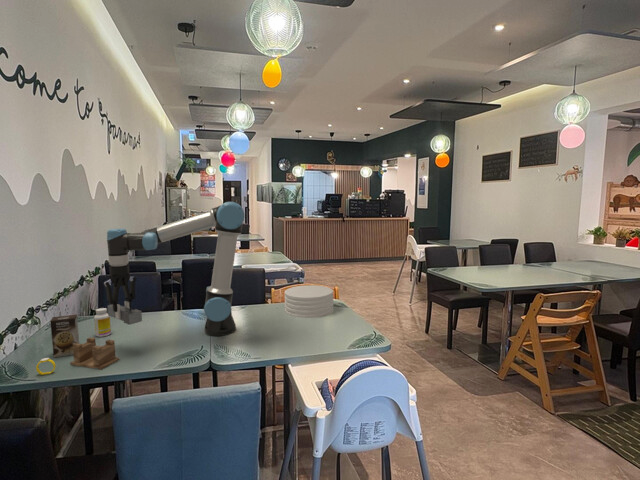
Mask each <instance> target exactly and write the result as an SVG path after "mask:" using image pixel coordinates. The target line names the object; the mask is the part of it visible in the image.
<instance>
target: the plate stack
mask: <svg viewBox="0 0 640 480" xmlns="http://www.w3.org/2000/svg"><path fill="white" fill-rule="evenodd" d="M333 298H334V290H333V288H330V287H328V286H325V285H324V286H322V285H314V284H311V285H309V284H308V285H297V286H292V287H289V288H287V289H284V313H285V314H286V315H288V316H291V317H295V318H303V319H306V318H307V319H309V318H311V319H312V318H319V317H320V318H321V317H325V316H328V315H330V314H332V313H333V312H334V299H333Z"/></svg>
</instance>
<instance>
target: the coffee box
mask: <svg viewBox="0 0 640 480" xmlns="http://www.w3.org/2000/svg"><path fill="white" fill-rule="evenodd" d="M49 324H50V332H51V342H52V355H53V358H60V357H65V356H74V354H73V344H75V343H79V344H80V336H79V335H80V334H79V321H78V314H71V315H61V316H53V317H52V318H51V319H50V323H49Z"/></svg>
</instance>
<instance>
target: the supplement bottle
mask: <svg viewBox="0 0 640 480" xmlns="http://www.w3.org/2000/svg"><path fill="white" fill-rule="evenodd" d="M95 313H96V314H95V315H94V317H93V321H94V331H95V336H96V337H101V338H103V337H107V336H109V335H111V334H112V326H111V316H109V315H108V307H107V308H106V307H105V308H104V307H100V308H97V309H95Z"/></svg>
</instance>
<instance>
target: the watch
mask: <svg viewBox="0 0 640 480" xmlns="http://www.w3.org/2000/svg"><path fill="white" fill-rule="evenodd" d="M46 362H49V363H51V364H52V366H53V368H52V369H51V371H46V372H43V371H41V370H40V367H39V365H40V364H41V363H46ZM56 367H57V366H56V363H55V361H54V360H52V359H51V358H50V357H45V358H44V357H43V358H41V359H40V361H39V362H37V364H36V367H35V368H36V372H37V373H38V374H39V375H42V376H43V375H51V374H52V373H53V372H54V371H55V369H56Z"/></svg>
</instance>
